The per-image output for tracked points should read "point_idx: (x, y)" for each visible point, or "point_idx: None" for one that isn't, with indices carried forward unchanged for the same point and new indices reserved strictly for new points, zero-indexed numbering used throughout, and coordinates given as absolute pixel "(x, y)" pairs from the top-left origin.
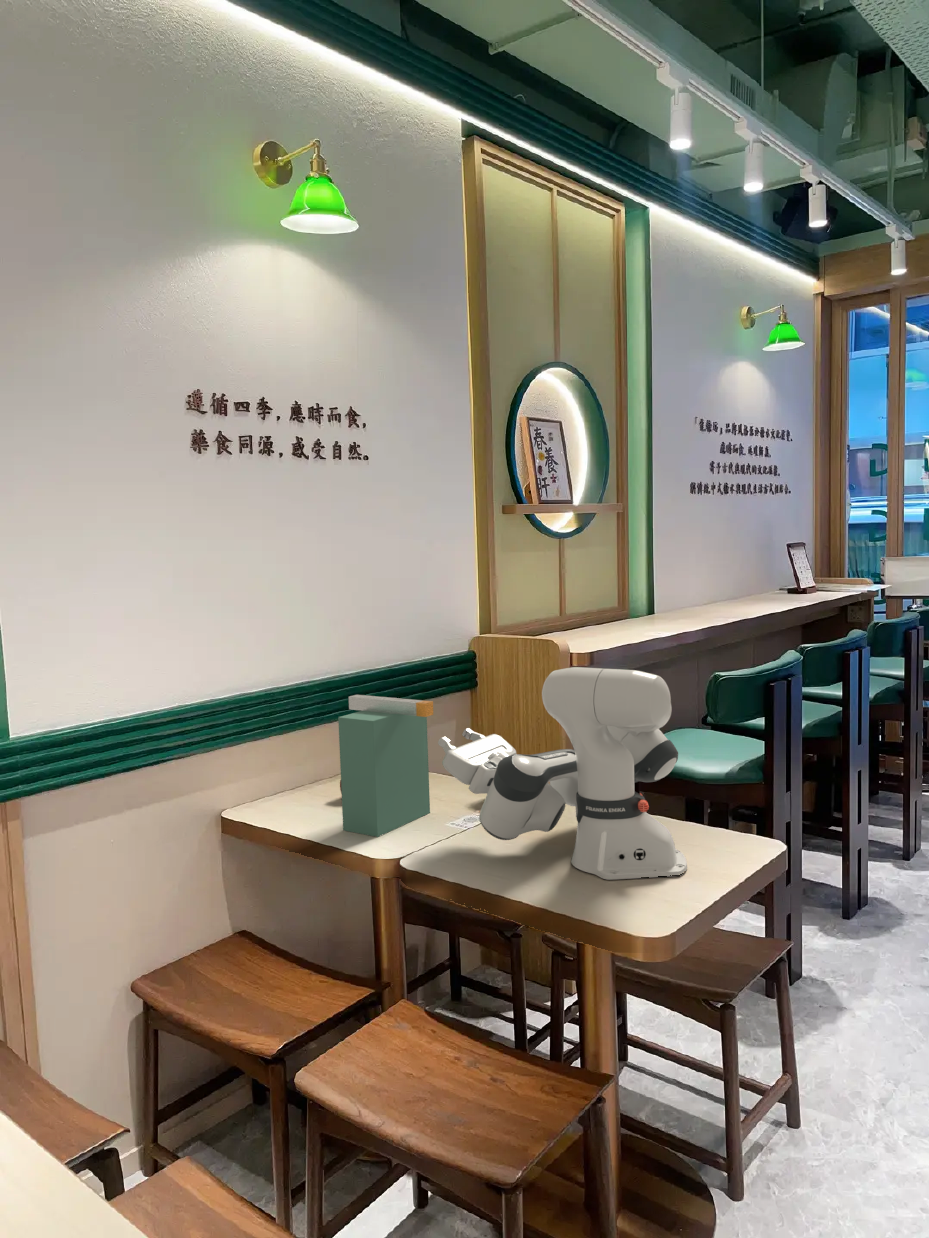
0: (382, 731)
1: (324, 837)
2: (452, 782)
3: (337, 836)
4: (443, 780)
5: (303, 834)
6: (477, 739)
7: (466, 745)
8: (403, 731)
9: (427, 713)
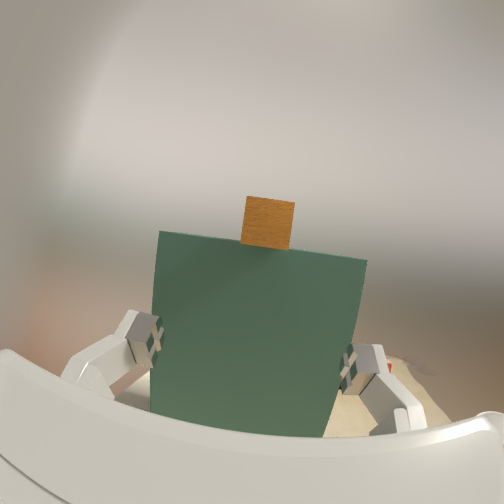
0: (185, 266)
1: (140, 393)
2: (430, 413)
3: (146, 403)
4: (425, 405)
5: (149, 377)
6: (387, 416)
7: (131, 422)
8: (265, 294)
9: (253, 234)
